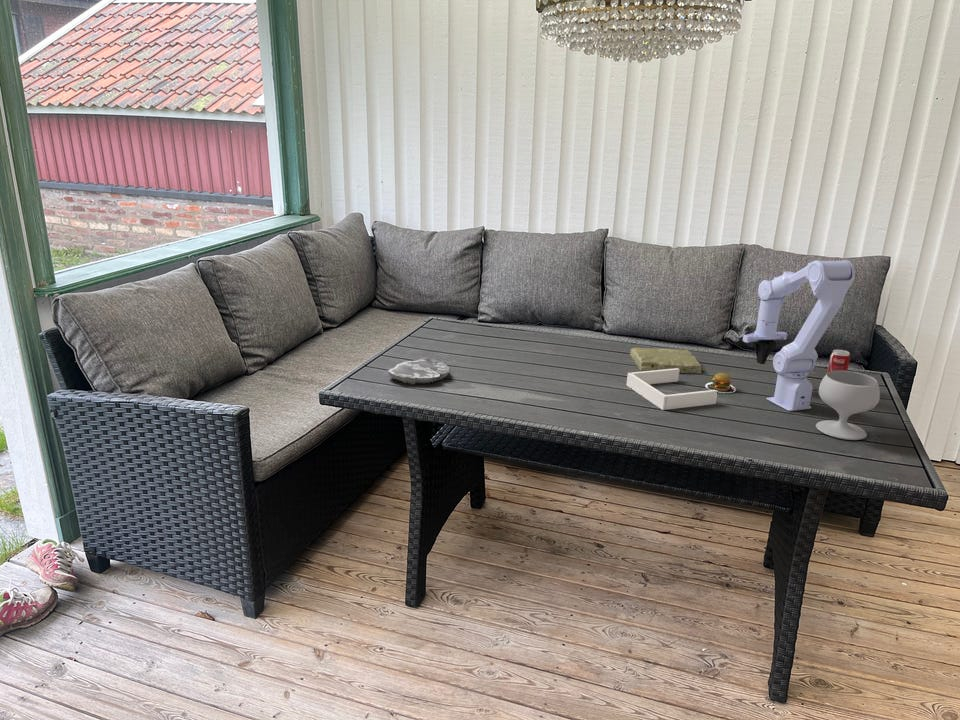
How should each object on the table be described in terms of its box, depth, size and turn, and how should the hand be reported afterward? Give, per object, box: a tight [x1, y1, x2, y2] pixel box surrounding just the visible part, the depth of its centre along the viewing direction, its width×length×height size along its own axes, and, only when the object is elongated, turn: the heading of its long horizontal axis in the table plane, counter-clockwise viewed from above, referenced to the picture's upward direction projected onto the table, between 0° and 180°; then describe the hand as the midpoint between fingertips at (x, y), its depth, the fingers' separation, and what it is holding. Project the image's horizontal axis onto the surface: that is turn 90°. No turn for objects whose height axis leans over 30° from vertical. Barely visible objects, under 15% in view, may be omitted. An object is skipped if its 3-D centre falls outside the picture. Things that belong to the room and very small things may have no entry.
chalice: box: [815, 370, 881, 441], centre depth 180 cm, size 14×14×15 cm
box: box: [626, 368, 719, 411], centre depth 204 cm, size 20×18×4 cm
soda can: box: [826, 349, 851, 374], centre depth 210 cm, size 5×5×12 cm
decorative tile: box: [629, 347, 702, 374], centre depth 231 cm, size 19×20×4 cm
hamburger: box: [705, 372, 737, 394], centre depth 209 cm, size 12×12×6 cm
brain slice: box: [387, 357, 451, 385], centre depth 213 cm, size 20×17×3 cm
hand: (760, 363), depth 212 cm, fingers closed
